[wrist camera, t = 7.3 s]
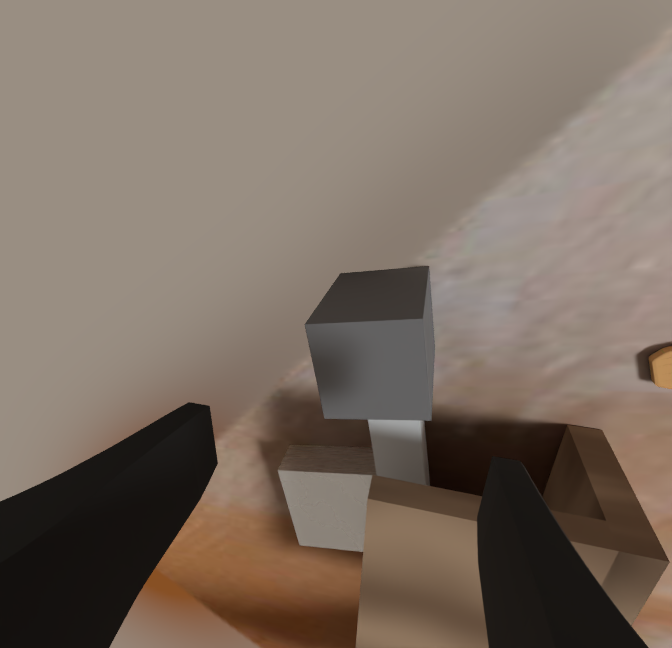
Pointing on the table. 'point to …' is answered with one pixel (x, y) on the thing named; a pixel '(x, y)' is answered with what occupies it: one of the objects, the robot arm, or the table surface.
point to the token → (328, 494)
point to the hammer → (379, 362)
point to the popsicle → (661, 367)
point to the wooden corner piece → (462, 552)
